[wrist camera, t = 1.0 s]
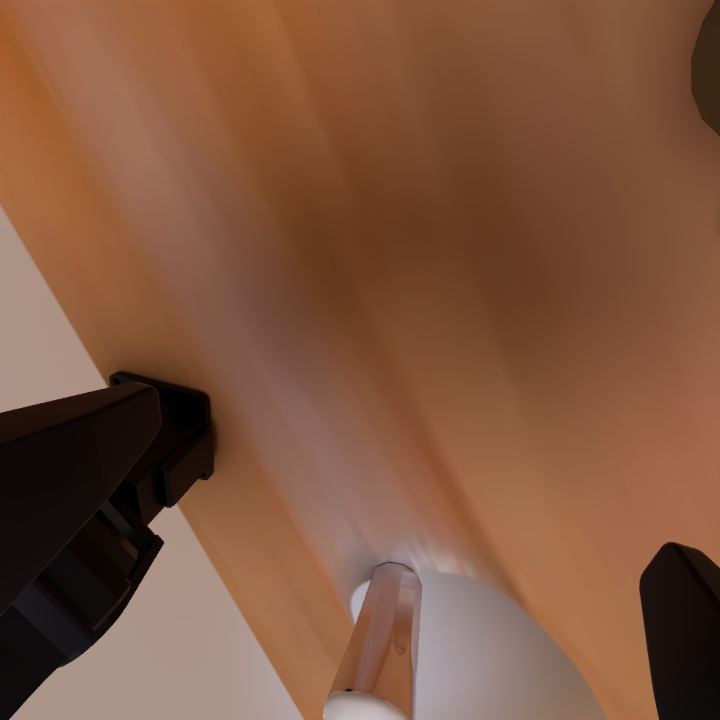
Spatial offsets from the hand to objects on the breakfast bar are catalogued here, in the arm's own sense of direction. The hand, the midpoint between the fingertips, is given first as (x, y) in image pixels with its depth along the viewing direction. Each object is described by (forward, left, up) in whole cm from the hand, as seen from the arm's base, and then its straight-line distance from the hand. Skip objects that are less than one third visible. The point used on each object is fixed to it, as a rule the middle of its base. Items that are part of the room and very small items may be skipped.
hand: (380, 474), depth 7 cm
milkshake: (+1, -20, -13) cm, 24 cm away
